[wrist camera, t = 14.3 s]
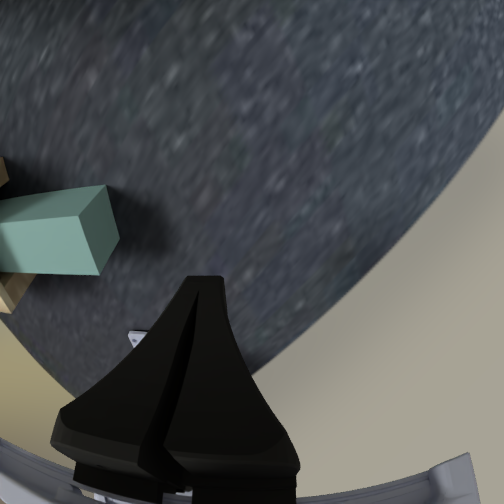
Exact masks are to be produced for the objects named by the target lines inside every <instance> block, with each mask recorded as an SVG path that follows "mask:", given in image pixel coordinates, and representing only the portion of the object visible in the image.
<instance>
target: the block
mask: <svg viewBox="0 0 504 504" xmlns="http://www.w3.org/2000/svg"><path fill="white" fill-rule="evenodd" d="M7 181H9V178H8V174H7V171H6V167H5V164H4V160H3V157H0V187H1V186H2V185H4V184H5V183H6V182H7ZM36 275H37V273H16V272H0V312H5V313H11V314H12V312H13V310H14V309H15V307H16V305H17V304H18V302H19V301H20V299H21V297H22V296H23V294H24V293H25V291H26V290H27V288H28V287H29V285H30V284H31V282H32V281H33V279H34V278H35V276H36Z"/></svg>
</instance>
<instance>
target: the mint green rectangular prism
mask: <svg viewBox="0 0 504 504" xmlns="http://www.w3.org/2000/svg"><path fill="white" fill-rule="evenodd" d="M119 240H120V237H119V234H118V230H117V227H116V223H115V219H114V216H113V212H112V208H111V204H110V200H109V196H108V192H107V188H106V185H99V186H91V187H82V188H74V189H67V190H59V191H52V192H46V193H39V194H33V195H27V196H21V197H15V198H10V199H4V200H0V272H16V273H41V274H72V275H100V274H101V272H102V270H103V268H104V266H105V264H106V263H107V261H108V259H109V257H110V255H111V254H112V252H113V250H114V248H115V247H116V245H117V243H118V241H119Z"/></svg>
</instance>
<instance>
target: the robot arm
mask: <svg viewBox="0 0 504 504" xmlns="http://www.w3.org/2000/svg"><path fill="white" fill-rule="evenodd" d="M128 337H129V339H130V341H131V343H132V345H133V347H134V349H133V350H132V351H131V352H130V353H129V354H128V355H127V356H126V357H125V358H124V359H123V360H122V361H121V362H120V363H119V364H118V365H117V366H116V367H115V368H114V369H113V370H112V371H111V372H109V373H108V374H107V375H106V376H105V377H104V378H102V379H101V380H100V381H99V382H97V383H96V384H95V385H94V386H93V387H91V388H90V389H89V390H88V391H86V392H85V393H84V394H82V395H81V396H79V397H78V398H76V399H75V400H74V401H72V402H70V403H69V404H67V405H66V406H64V407H62V408H61V409H60V411H59V413H58V416H57V419H56V422H55V425H54V429H53V433H52V436H51V441H50V444H51V446H52V447H54V448H55V449H56V450H57V451H59V452H61V453H62V454H64V455H66V456H67V457H69V458H71V459H72V460H74V461H76V466H75V470H72V469H69V468H66V467H64V466H61V465H59V464H56V463H54V462H51V461H49V460H46V459H44V458H41V457H39V456H37V455H35V454H32V453H30V452H28V451H26V450H23V449H22V448H20V447H17V446H15V445H13V444H12V443H10V442H8V441H6V440H4V439H2V438H0V499H2V500H3V501H4V502H5V503H7V504H480V499H479V493H478V488H477V483H476V478H475V474H474V469H473V465H472V461H471V457H470V453H468V452H467V453H465V454H462V455H460V456H458V457H455V458H453V459H450V460H448V461H445V462H443V463H440V464H438V465H436V466H434V467H432V468H430V469H429V470H428V471H425V472H422V473H419V474H416V475H413V476H409V477H406V478H403V479H400V480H396V481H392V482H388V483H384V484H380V485H376V486H371V487H367V488H362V489H357V490H352V491H346V492H341V493H334V494H327V495H320V496H311V497H301V498H296V487H297V483H296V475H297V473H298V472H299V470H300V461H299V458H298V455H297V453H296V450H295V448H294V446H293V444H292V442H291V440H290V438H289V436H288V434H287V432H286V430H285V428H284V427H283V426H282V425H281V423H280V422H279V420H278V419H277V417H276V416H275V414H274V413H273V412H272V410H271V409H270V407H269V405H268V404H267V402H266V401H265V399H264V398H263V396H262V394H261V393H260V391H259V389H258V387H257V385H256V384H255V382H254V380H253V378H252V376H251V374H250V372H249V370H248V368H247V366H246V364H245V362H244V360H243V358H242V355H241V353H240V351H239V348H238V346H237V343H236V341H235V338H234V335H233V332H232V329H231V326H230V323H229V319H228V315H227V304H226V295H225V286H224V278H223V277H222V276H187V277H186V278H185V279H184V281H183V283H182V284H181V286H180V287H179V289H178V291H177V292H176V294H175V295H174V297H173V298H172V300H171V301H170V303H169V304H168V306H167V307H166V308H165V310H164V311H163V313H162V314H161V315H160V317H159V318H158V320H157V321H156V322H155V323H154V325H153V326H152V327H151V328H150V330H149V331H148V332H141V331H130V332H129V334H128ZM79 488H80V489H83V490H86V491H89V492H92V493H94V499H92V498H89V497H86V496H84V495H83V494H82V492H81V490H80V489H79Z"/></svg>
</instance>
